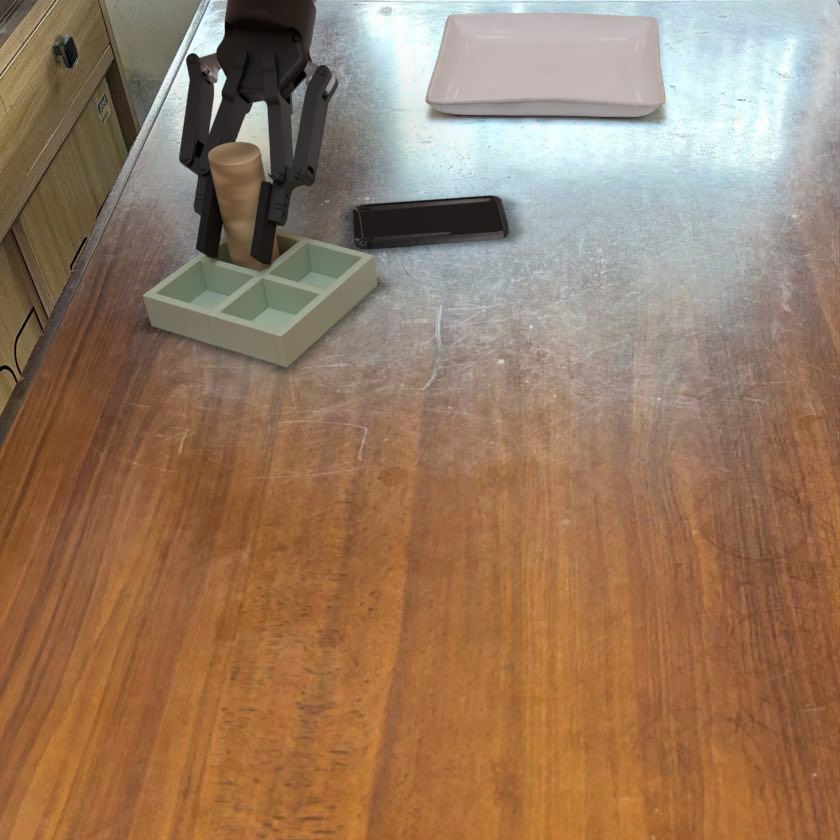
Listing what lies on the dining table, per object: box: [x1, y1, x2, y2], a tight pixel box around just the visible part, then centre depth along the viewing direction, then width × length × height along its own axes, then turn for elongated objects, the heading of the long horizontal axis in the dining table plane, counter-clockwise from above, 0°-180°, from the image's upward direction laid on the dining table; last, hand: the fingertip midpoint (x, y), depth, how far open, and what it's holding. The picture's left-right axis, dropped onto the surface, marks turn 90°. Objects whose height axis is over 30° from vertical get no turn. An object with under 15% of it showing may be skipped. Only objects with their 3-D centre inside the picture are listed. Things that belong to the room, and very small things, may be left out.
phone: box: [352, 194, 510, 250], centre depth 109 cm, size 8×1×15 cm
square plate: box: [425, 12, 667, 118], centre depth 135 cm, size 27×27×4 cm
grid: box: [142, 229, 379, 368], centre depth 98 cm, size 14×14×4 cm
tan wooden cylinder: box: [208, 141, 280, 272], centre depth 98 cm, size 4×4×11 cm
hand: (233, 256), depth 97 cm, fingers closed on tan wooden cylinder, 4 cm apart
